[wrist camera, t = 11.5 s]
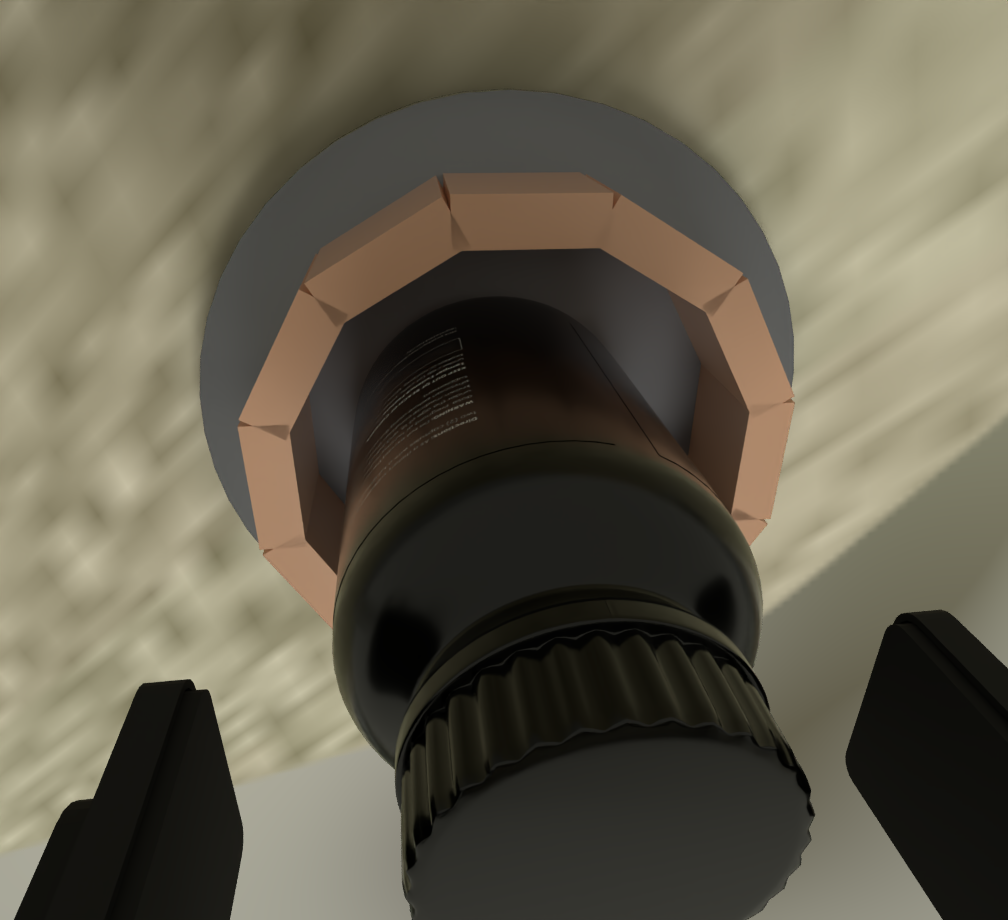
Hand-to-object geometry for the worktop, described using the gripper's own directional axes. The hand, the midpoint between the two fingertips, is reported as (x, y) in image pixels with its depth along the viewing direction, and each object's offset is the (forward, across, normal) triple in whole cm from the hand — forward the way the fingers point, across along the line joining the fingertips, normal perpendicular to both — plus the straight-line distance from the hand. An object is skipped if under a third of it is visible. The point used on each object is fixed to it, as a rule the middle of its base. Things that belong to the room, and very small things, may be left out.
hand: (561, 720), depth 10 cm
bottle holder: (+11, -1, 0) cm, 11 cm away
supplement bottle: (+10, 0, 0) cm, 10 cm away
